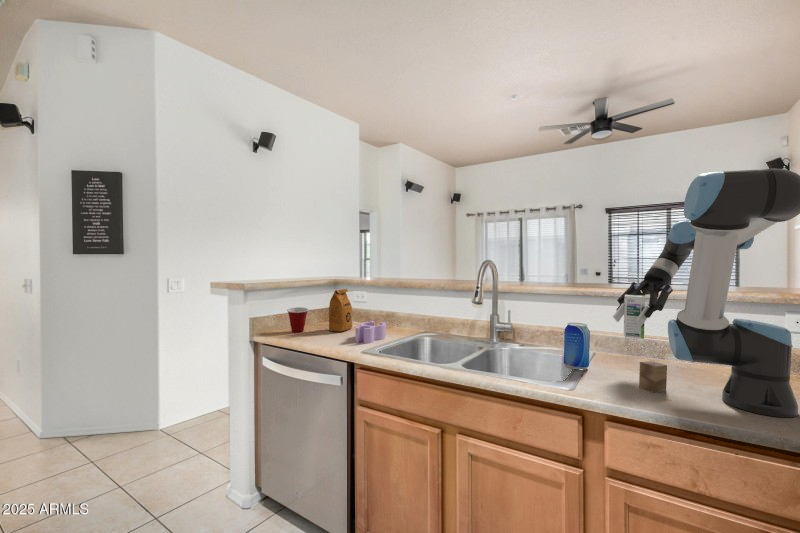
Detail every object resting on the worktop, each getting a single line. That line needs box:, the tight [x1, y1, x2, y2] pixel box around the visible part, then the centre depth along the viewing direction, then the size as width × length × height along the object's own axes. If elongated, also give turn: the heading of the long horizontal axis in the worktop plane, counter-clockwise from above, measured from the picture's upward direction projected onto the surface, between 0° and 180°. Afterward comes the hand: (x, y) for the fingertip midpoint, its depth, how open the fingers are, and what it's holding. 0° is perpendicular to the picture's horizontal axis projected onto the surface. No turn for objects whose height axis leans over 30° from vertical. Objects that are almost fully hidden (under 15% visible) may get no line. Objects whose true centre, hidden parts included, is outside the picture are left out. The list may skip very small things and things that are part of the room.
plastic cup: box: [286, 306, 309, 334], centre depth 195 cm, size 11×11×12 cm
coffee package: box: [328, 288, 353, 333], centre depth 199 cm, size 10×12×22 cm
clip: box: [354, 320, 387, 345], centre depth 181 cm, size 20×12×7 cm, turn 158°
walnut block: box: [638, 360, 668, 394], centre depth 116 cm, size 5×5×8 cm
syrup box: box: [623, 295, 646, 340], centre depth 130 cm, size 6×6×14 cm
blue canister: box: [563, 322, 591, 371], centre depth 137 cm, size 8×8×16 cm
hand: (626, 321), depth 129 cm, fingers closed on syrup box, 8 cm apart
